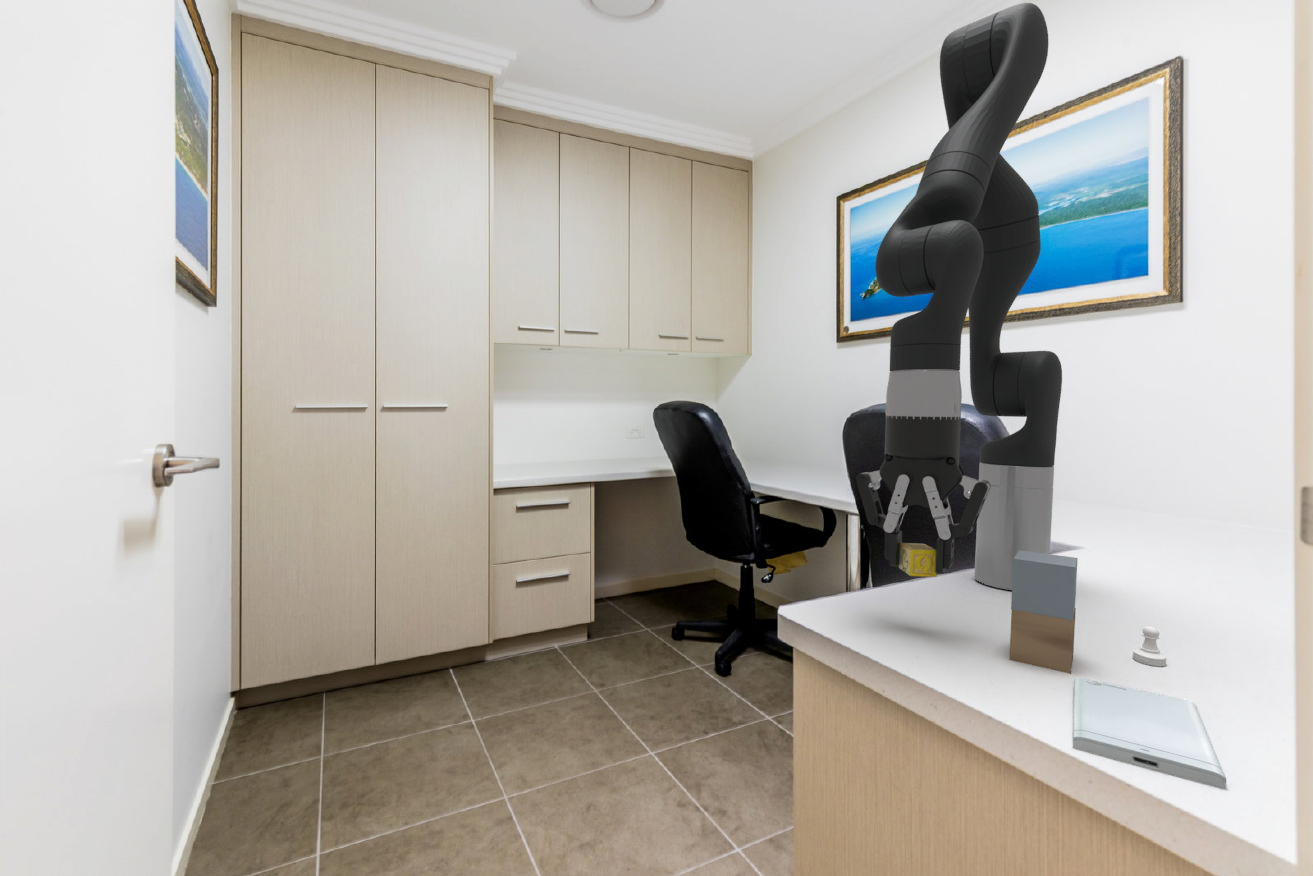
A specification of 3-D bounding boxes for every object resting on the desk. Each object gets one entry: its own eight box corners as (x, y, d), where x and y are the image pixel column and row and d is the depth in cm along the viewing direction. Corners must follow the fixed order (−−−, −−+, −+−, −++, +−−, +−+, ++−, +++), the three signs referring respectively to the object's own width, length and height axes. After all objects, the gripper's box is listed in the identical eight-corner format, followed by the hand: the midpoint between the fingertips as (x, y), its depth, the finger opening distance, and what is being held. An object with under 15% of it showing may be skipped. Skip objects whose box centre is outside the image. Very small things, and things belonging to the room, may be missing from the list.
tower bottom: (1015, 645, 64) (1017, 598, 64) (1073, 657, 61) (1075, 608, 61) (1009, 660, 60) (1011, 609, 60) (1070, 674, 57) (1073, 621, 57)
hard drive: (1073, 675, 54) (1072, 732, 44) (1196, 701, 49) (1227, 773, 39) (1072, 693, 54) (1071, 755, 44) (1195, 721, 50) (1225, 798, 39)
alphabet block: (925, 569, 69) (925, 542, 69) (937, 577, 66) (938, 549, 66) (898, 569, 69) (898, 542, 69) (909, 577, 66) (910, 549, 66)
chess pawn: (1160, 659, 61) (1162, 624, 61) (1170, 669, 59) (1172, 633, 59) (1128, 655, 62) (1130, 621, 62) (1137, 664, 60) (1139, 629, 60)
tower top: (1017, 597, 64) (1019, 550, 64) (1075, 607, 61) (1077, 557, 61) (1011, 609, 60) (1013, 558, 60) (1072, 620, 57) (1075, 567, 57)
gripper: (1001, 414, 66) (995, 572, 66) (867, 412, 74) (863, 552, 75) (991, 414, 59) (984, 588, 60) (846, 412, 68) (842, 565, 69)
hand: (917, 567), depth 68 cm, fingers closed on alphabet block, 4 cm apart
